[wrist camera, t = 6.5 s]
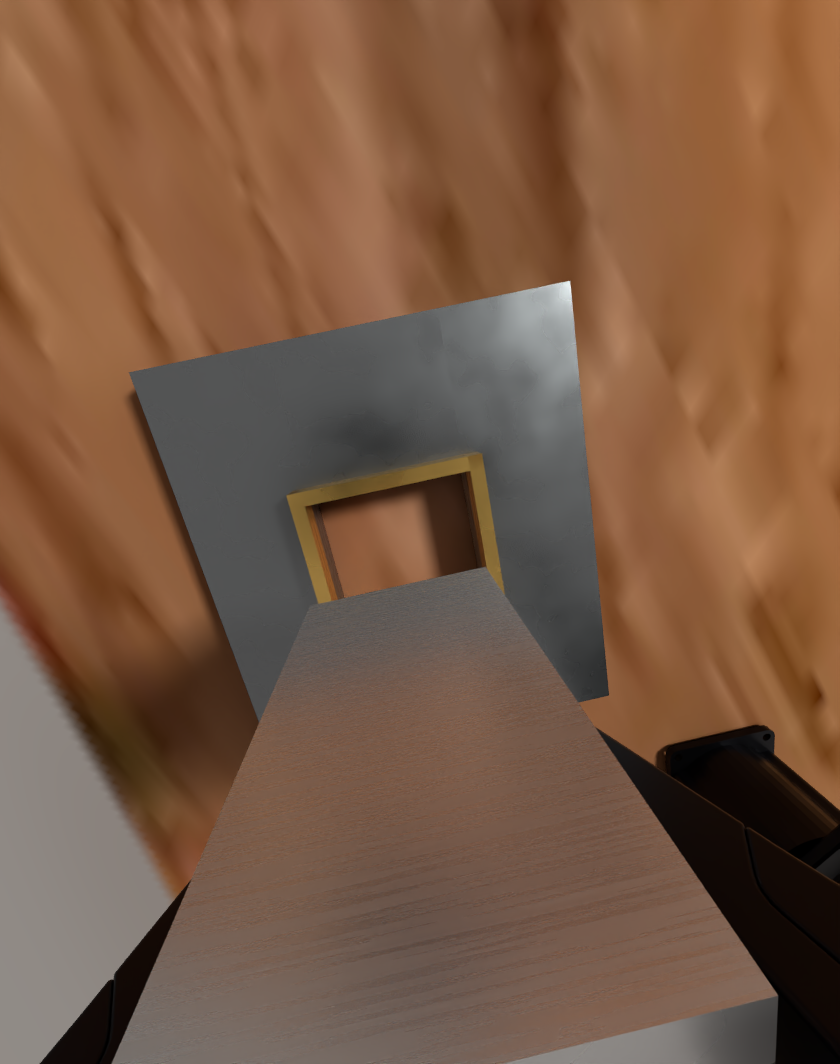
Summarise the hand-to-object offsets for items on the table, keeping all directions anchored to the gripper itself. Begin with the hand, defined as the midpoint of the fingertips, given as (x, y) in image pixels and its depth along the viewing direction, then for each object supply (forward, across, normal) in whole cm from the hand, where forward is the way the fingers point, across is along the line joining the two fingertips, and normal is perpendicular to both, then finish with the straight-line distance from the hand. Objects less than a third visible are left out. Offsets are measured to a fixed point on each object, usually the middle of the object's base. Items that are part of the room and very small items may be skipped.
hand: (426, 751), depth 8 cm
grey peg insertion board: (+13, 0, 0) cm, 13 cm away
